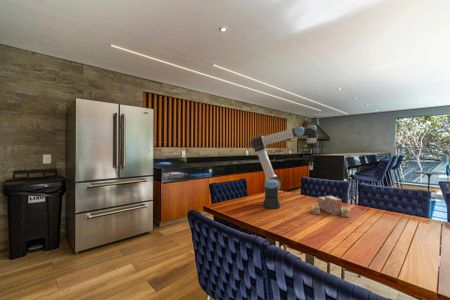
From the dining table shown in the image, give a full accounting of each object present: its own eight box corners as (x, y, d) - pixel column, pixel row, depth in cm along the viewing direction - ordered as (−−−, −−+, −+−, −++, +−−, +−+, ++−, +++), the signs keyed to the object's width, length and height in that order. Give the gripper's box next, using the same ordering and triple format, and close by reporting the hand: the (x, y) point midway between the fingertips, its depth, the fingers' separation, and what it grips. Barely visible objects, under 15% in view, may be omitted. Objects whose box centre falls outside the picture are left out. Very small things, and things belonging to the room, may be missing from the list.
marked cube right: (341, 216, 164) (341, 209, 164) (341, 214, 168) (341, 207, 168) (348, 217, 162) (348, 210, 161) (348, 215, 166) (349, 208, 166)
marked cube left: (312, 213, 171) (312, 206, 171) (311, 211, 176) (311, 205, 176) (319, 213, 170) (319, 207, 170) (318, 211, 175) (318, 205, 175)
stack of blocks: (317, 207, 187) (318, 193, 186) (324, 207, 188) (324, 193, 187) (334, 215, 166) (334, 199, 165) (341, 215, 167) (341, 199, 166)
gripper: (316, 142, 181) (315, 170, 182) (316, 143, 193) (315, 169, 194) (306, 142, 184) (306, 170, 185) (307, 142, 196) (306, 168, 197)
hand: (311, 169), depth 190 cm, fingers closed
